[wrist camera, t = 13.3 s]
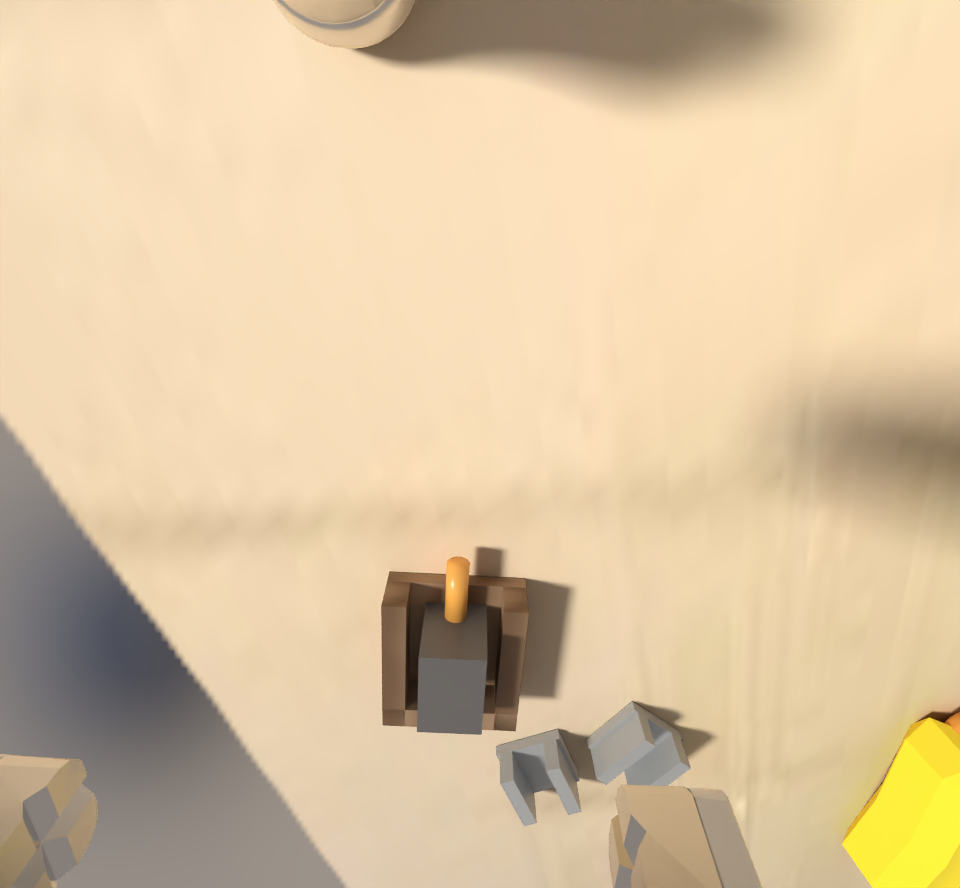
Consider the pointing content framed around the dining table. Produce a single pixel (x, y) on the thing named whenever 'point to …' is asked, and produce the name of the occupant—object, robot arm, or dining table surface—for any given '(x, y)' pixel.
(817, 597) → the dining table surface
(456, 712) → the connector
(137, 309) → the dining table surface
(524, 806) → the clip
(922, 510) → the dining table surface
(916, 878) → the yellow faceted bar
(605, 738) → the clip
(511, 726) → the holder
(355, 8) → the open metal bottle
